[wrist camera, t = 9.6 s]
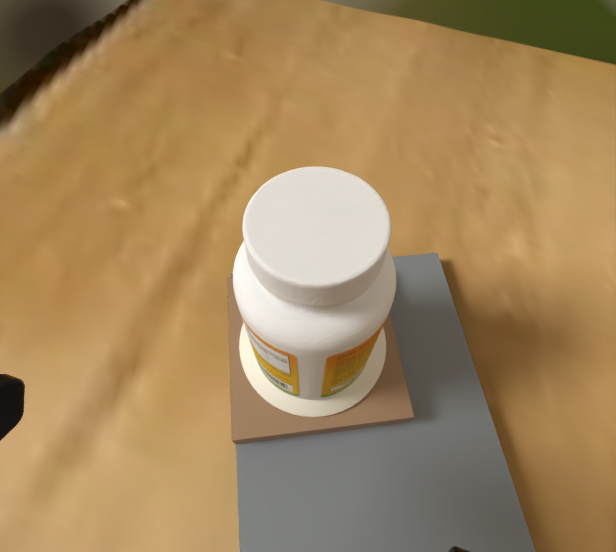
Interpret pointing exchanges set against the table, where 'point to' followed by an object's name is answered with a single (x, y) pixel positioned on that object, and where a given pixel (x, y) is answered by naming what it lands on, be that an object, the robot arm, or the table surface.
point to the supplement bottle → (314, 279)
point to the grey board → (377, 442)
